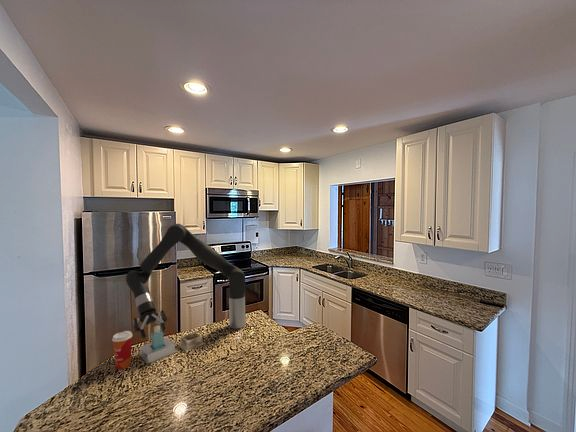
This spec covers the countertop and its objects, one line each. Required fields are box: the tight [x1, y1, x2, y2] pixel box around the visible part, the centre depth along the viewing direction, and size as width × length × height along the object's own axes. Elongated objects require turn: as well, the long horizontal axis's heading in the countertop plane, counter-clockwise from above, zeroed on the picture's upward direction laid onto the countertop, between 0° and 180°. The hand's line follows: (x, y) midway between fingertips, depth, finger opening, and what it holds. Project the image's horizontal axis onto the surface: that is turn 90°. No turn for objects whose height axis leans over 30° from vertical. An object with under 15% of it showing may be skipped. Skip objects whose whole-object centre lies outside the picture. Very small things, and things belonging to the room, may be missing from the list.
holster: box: [177, 331, 206, 352], centre depth 129 cm, size 10×10×4 cm
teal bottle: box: [150, 324, 164, 350], centre depth 121 cm, size 4×4×13 cm
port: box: [139, 337, 176, 367], centre depth 121 cm, size 12×10×5 cm
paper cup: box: [111, 330, 134, 370], centre depth 113 cm, size 8×8×14 cm
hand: (154, 334), depth 122 cm, fingers open, 8 cm apart
